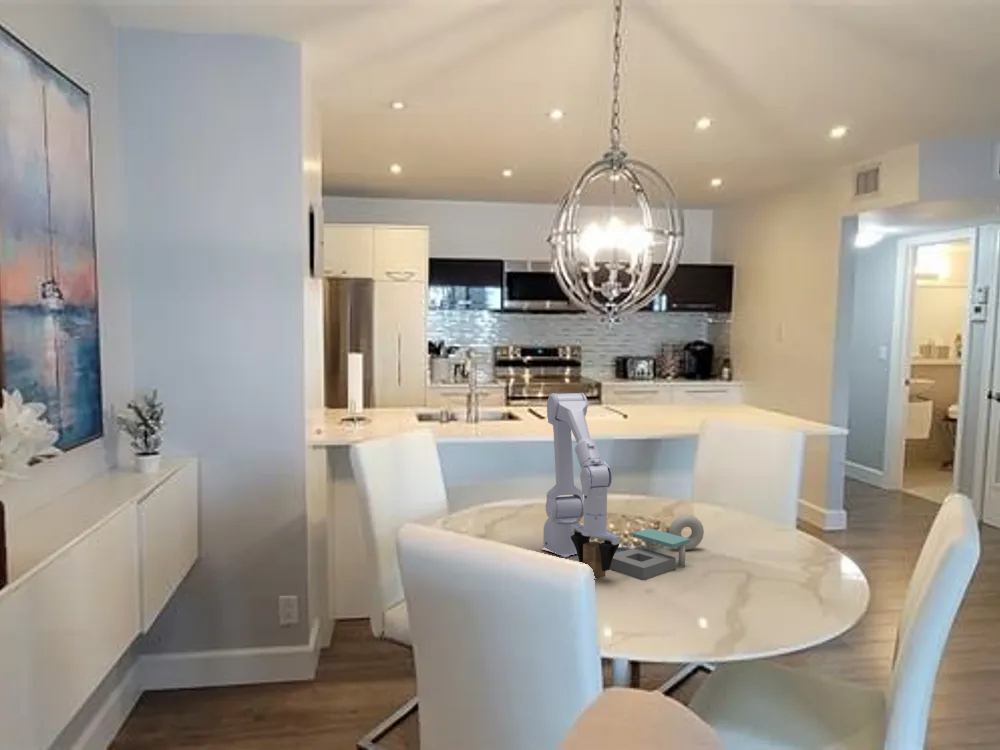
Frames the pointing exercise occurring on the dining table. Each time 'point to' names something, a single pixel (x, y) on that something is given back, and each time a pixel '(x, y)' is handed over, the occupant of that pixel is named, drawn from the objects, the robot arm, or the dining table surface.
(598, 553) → the peg
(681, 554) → the teal mini table
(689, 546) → the donut
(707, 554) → the dining table surface
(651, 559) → the socket block
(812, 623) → the dining table surface
